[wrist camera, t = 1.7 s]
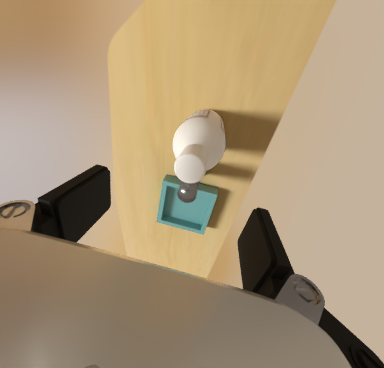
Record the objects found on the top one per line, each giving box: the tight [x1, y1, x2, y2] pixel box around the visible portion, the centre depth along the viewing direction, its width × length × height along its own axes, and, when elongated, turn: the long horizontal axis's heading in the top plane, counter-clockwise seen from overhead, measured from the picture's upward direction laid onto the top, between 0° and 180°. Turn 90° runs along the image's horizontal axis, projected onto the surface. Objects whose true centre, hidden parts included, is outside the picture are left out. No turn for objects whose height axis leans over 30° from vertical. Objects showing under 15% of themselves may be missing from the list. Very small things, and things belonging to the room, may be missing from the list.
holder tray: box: [157, 175, 218, 235], centre depth 40 cm, size 12×12×3 cm
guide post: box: [177, 181, 200, 203], centre depth 31 cm, size 5×5×12 cm
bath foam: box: [173, 109, 226, 183], centre depth 24 cm, size 7×7×20 cm
